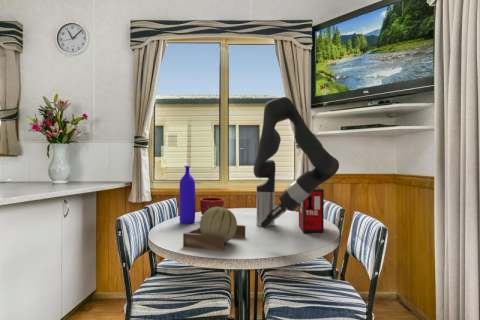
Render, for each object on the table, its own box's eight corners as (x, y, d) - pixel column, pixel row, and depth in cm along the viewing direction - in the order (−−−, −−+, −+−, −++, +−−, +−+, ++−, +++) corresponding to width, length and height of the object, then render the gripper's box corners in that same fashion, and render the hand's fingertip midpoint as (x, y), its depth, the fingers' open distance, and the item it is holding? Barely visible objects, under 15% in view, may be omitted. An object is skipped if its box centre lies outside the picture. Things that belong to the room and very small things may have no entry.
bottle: (180, 221, 179) (180, 165, 179) (195, 221, 179) (195, 165, 179) (178, 224, 170) (178, 166, 170) (194, 224, 171) (194, 166, 171)
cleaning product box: (298, 226, 167) (298, 186, 167) (316, 226, 167) (316, 186, 166) (303, 233, 150) (303, 189, 150) (323, 233, 150) (323, 189, 150)
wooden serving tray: (211, 233, 149) (211, 222, 149) (245, 237, 143) (245, 225, 143) (183, 246, 127) (183, 233, 127) (222, 251, 121) (222, 237, 121)
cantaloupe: (192, 245, 129) (192, 207, 129) (211, 237, 142) (211, 202, 142) (226, 249, 123) (227, 209, 123) (242, 241, 136) (242, 204, 136)
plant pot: (197, 222, 176) (197, 199, 176) (203, 218, 189) (203, 197, 189) (221, 223, 174) (221, 200, 174) (226, 218, 187) (226, 197, 187)
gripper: (291, 186, 130) (261, 215, 135) (282, 189, 118) (250, 221, 122) (305, 200, 128) (274, 229, 133) (297, 205, 116) (264, 237, 120)
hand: (262, 225), depth 127 cm, fingers closed
